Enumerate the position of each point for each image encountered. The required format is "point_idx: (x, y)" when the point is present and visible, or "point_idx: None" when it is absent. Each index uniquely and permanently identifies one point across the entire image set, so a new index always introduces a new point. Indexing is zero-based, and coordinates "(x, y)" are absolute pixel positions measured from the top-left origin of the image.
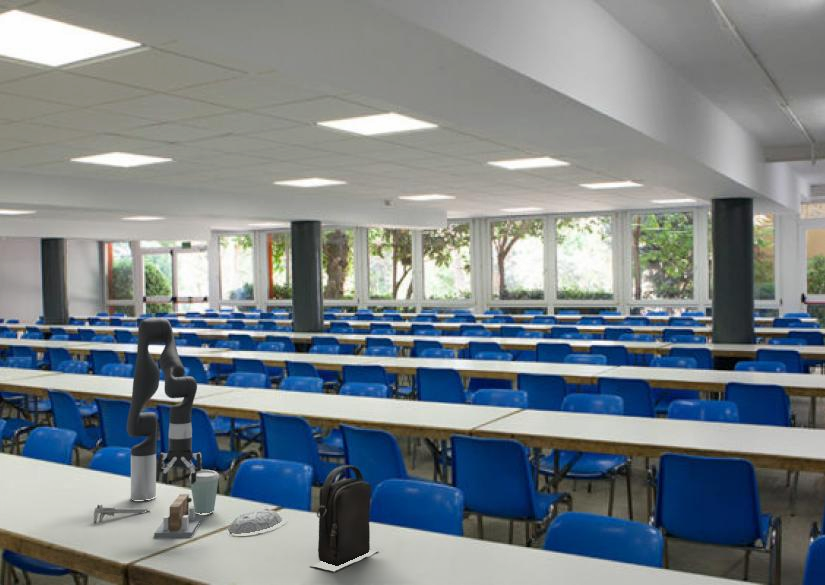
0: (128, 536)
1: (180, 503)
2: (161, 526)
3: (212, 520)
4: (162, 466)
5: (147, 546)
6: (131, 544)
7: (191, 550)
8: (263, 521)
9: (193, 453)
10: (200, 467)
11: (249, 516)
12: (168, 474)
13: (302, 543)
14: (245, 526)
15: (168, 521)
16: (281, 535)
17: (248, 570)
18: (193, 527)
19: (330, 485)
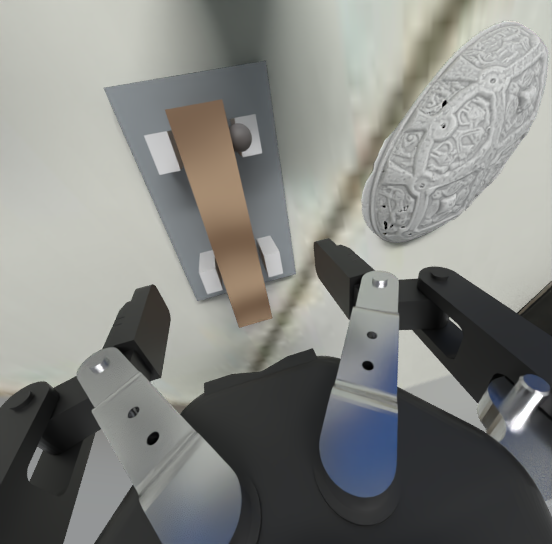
0: (114, 300)
1: (260, 283)
2: (179, 244)
3: (303, 77)
4: (43, 429)
5: (218, 341)
6: (172, 342)
7: (317, 335)
8: (481, 192)
9: (549, 501)
10: (451, 334)
11: (458, 200)
12: (145, 338)
13: (509, 256)
14: (429, 231)
15: (220, 278)
16: (488, 215)
17: (412, 370)
18: (285, 234)
19: None
